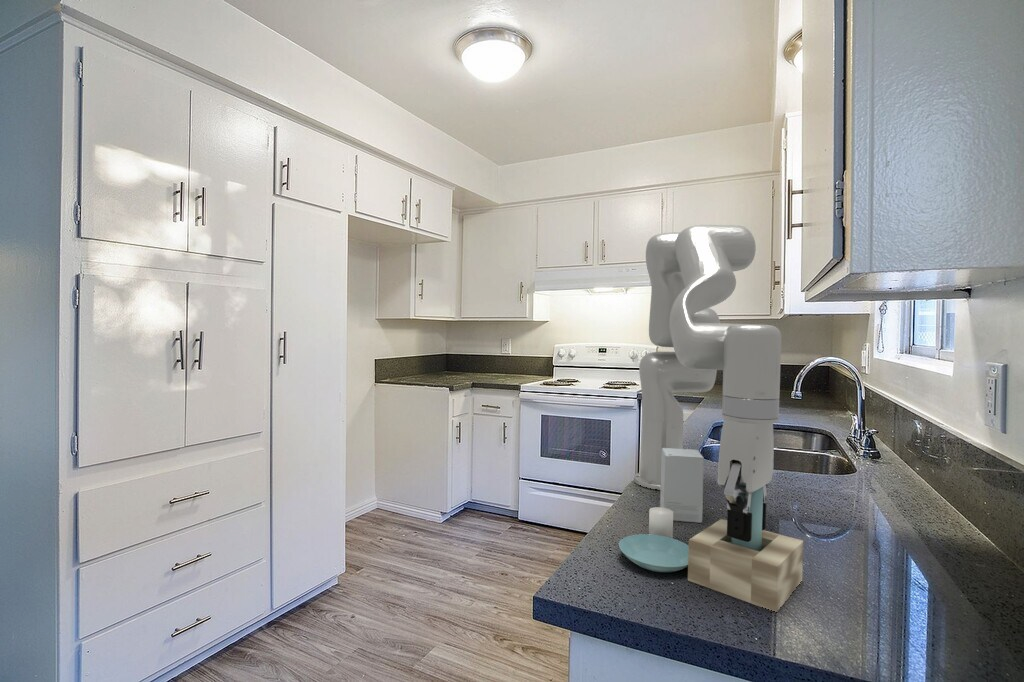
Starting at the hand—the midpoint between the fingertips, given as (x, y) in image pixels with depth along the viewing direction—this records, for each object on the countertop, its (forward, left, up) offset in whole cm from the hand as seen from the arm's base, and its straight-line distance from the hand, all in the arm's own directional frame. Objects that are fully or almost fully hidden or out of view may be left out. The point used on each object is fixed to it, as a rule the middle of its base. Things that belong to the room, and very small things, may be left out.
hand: (746, 531), depth 75 cm
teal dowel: (0, 0, -7) cm, 7 cm away
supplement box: (-19, -19, -7) cm, 28 cm away
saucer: (+4, -12, -8) cm, 15 cm away
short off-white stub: (-5, -16, -7) cm, 18 cm away
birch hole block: (0, 0, -7) cm, 7 cm away
